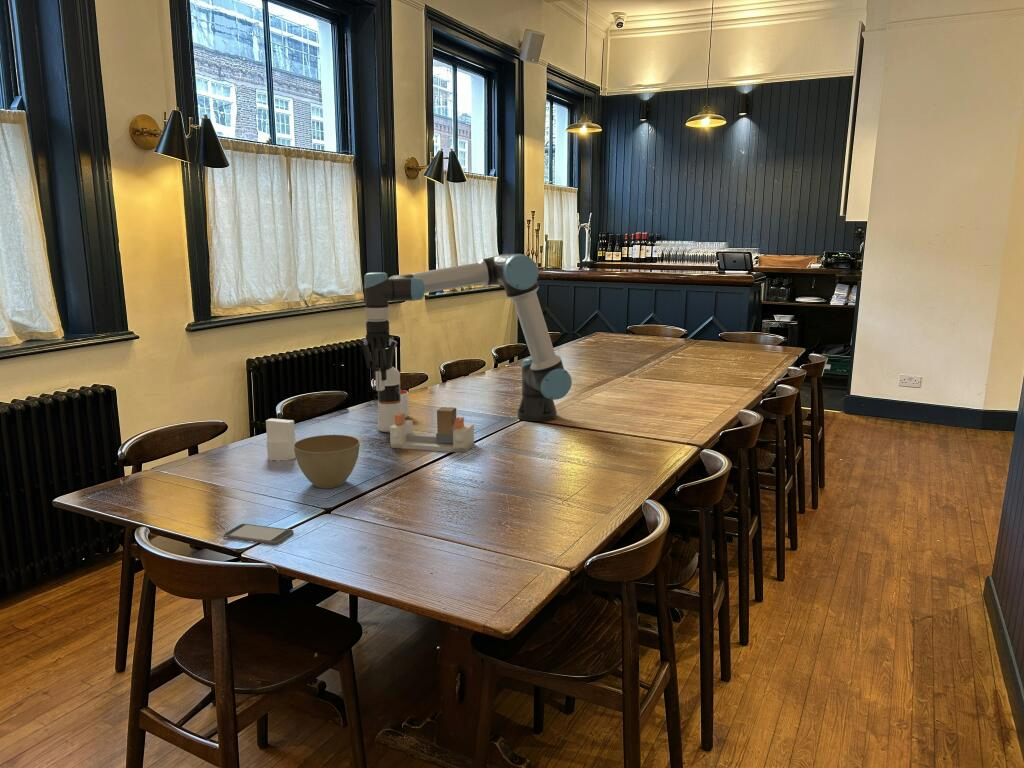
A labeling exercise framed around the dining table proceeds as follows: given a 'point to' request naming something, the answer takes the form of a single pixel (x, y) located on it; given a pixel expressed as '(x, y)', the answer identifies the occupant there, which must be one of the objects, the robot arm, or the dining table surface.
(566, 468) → the dining table surface
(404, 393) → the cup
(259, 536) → the smartphone
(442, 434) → the carriage
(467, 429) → the linear slide base
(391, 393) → the vodka
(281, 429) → the base with upright slab
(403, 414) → the gauge plunger
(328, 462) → the tan bowl
